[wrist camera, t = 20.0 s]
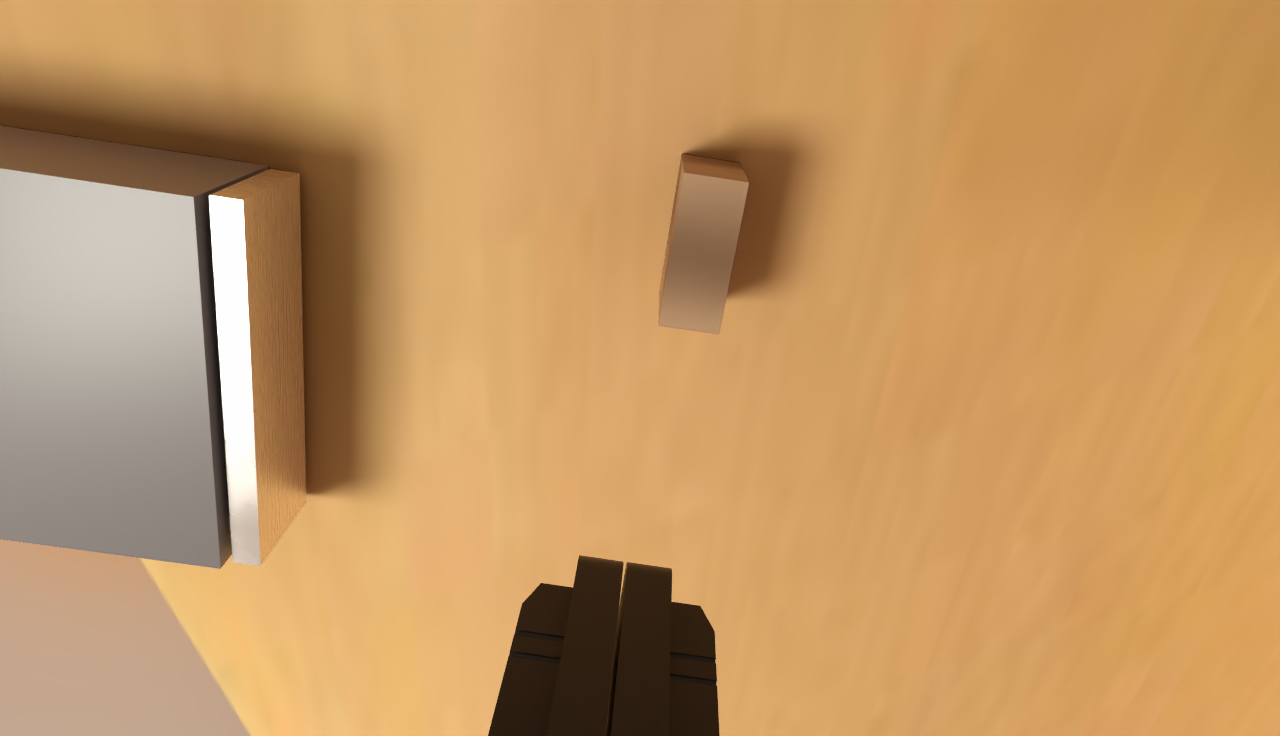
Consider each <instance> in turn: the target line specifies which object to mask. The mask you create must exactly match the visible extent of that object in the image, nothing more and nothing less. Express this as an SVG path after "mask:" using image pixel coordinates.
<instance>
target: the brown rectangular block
mask: <svg viewBox="0 0 1280 736" xmlns="http://www.w3.org/2000/svg"><path fill="white" fill-rule="evenodd" d="M748 186H749V181H748V179H747V177H746V174H745V172H744V170H743V168H742V166H741V163H738V162H732V161H725V160H719V159H712V158H705V157H699V156H692V155H686V154H682V156H681V162H680V169H679V175H678V181H677V187H676V193H675V199H674V205H673V212H672V218H671V224H670V230H669V236H668V242H667V249H666V255H665V261H664V267H663V273H662V279H661V285H660V292H659V326H663V327H669V328H676V329H683V330H690V331H697V332H704V333H711V334H717V335H719V333H720V328H721V323H722V318H723V313H724V308H725V303H726V298H727V293H728V288H729V282H730V277H731V272H732V267H733V262H734V257H735V252H736V247H737V242H738V237H739V232H740V227H741V222H742V217H743V212H744V206H745V201H746V196H747V191H748Z"/></svg>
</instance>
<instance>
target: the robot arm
mask: <svg viewBox="0 0 1280 736" xmlns="http://www.w3.org/2000/svg"><path fill="white" fill-rule="evenodd" d="M622 572H623V562H621V561H614V560H607V559H601V558H594V557H587V556H580V555H579V559H578V565H577V570H576V576H575V581H574V587H573V588H571V587H565V586H558V585H551V584H544V583H541V584H540V585H539V586H538V587H537V588H536V589H535V590H534V592H533V593H532V594H531V595H530V596H529V597H528V598H527V599H526V600H525V601H524V602H523V603H522V607H521V611H520V615H519V618H518V622H517V626H516V631H515V635H514V638H513V642H512V645H511V649H510V655H509V657H508V661H507V665H506V669H505V672H504V676H503V680H502V684H501V688H500V692H499V696H498V700H497V703H496V707H495V711H494V715H493V719H492V723H491V727H490V730H489V734H488V736H719V718H718V697H717V686H716V681H717V676H716V663H715V659H716V654H715V633H714V630H713V628H712V626H711V624H710V623H709V621H708V619H707V617H706V615H705V614H704V612H703V610H702V608H701V606H697V605H690V604H683V603H676V602H671V593H672V570H671V569H670V568H664V567H657V566H650V565H643V564H636V563H629V562H627V565H626V570H625V575H624V581H623V587H622V593H621V599H620V591H621V582H622ZM619 601H620V605H619Z"/></svg>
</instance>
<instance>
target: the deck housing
mask: <svg viewBox="0 0 1280 736" xmlns="http://www.w3.org/2000/svg"><path fill="white" fill-rule="evenodd" d="M266 170H269V166H267V165H261V164H254V163H247V162H241V161H234V160H227V159H221V158H214V157H207V156H201V155H194V154H187V153H181V152H174V151H167V150H161V149H154V148H147V147H141V146H134V145H127V144H121V143H114V142H107V141H101V140H94V139H87V138H81V137H74V136H67V135H61V134H54V133H47V132H41V131H34V130H27V129H21V128H14V127H7V126H0V539H3V540H11V541H18V542H26V543H33V544H40V545H48V546H55V547H63V548H71V549H78V550H85V551H93V552H100V553H108V554H115V555H123V556H130V557H138V558H145V559H152V560H160V561H167V562H175V563H182V564H190V565H197V566H205V567H212V568H220V569H221V567H222V566H223V565H224V564H225V562H226V561H227V560H228V558H229V557H230V556H231V555H232V544H231V529H230V514H229V498H228V483H227V475H226V460H225V444H224V429H223V414H222V398H221V383H220V368H219V352H218V337H217V322H216V306H215V291H214V276H213V260H212V245H211V230H210V223H211V221H210V206H209V195H210V194H213V193H215V192H217V191H220V190H222V189H224V188H227V187H229V186H231V185H234V184H236V183H238V182H241V181H243V180H245V179H248V178H250V177H252V176H255V175H257V174H259V173H262V172H264V171H266Z"/></svg>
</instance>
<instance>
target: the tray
mask: <svg viewBox="0 0 1280 736" xmlns="http://www.w3.org/2000/svg"><path fill="white" fill-rule="evenodd" d="M209 206H210V221H211V223H210V230H211V245H212V260H213V276H214V291H215V306H216V322H217V337H218V352H219V368H220V383H221V398H222V414H223V429H224V444H225V460H226V475H227V483H228V498H229V514H230V529H231V544H232V560H233V562H234V563H242V564H249V565H257V566H261V565H262V563H263V562H264V561H265V559H266V558H267V556H268V555H269V554H270V552H271V551H272V549H273V548H274V547H275V545H276V544H277V542H278V541H279V540H280V538H281V537H282V535H283V534H284V533H285V531H286V530H287V528H288V527H289V526H290V524H291V523H292V521H293V520H294V519H295V517H296V516H297V514H298V513H299V512H300V510H301V509H302V507H303V506H304V505H305V503H306V464H305V415H304V366H303V318H302V269H301V220H300V173H294V172H287V171H281V170H274V169H269V170H266V171H264V172H262V173H259V174H257V175H255V176H252V177H250V178H248V179H245V180H243V181H241V182H238V183H236V184H234V185H231V186H229V187H227V188H224V189H222V190H220V191H217V192H215V193H213V194H210V195H209Z"/></svg>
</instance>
